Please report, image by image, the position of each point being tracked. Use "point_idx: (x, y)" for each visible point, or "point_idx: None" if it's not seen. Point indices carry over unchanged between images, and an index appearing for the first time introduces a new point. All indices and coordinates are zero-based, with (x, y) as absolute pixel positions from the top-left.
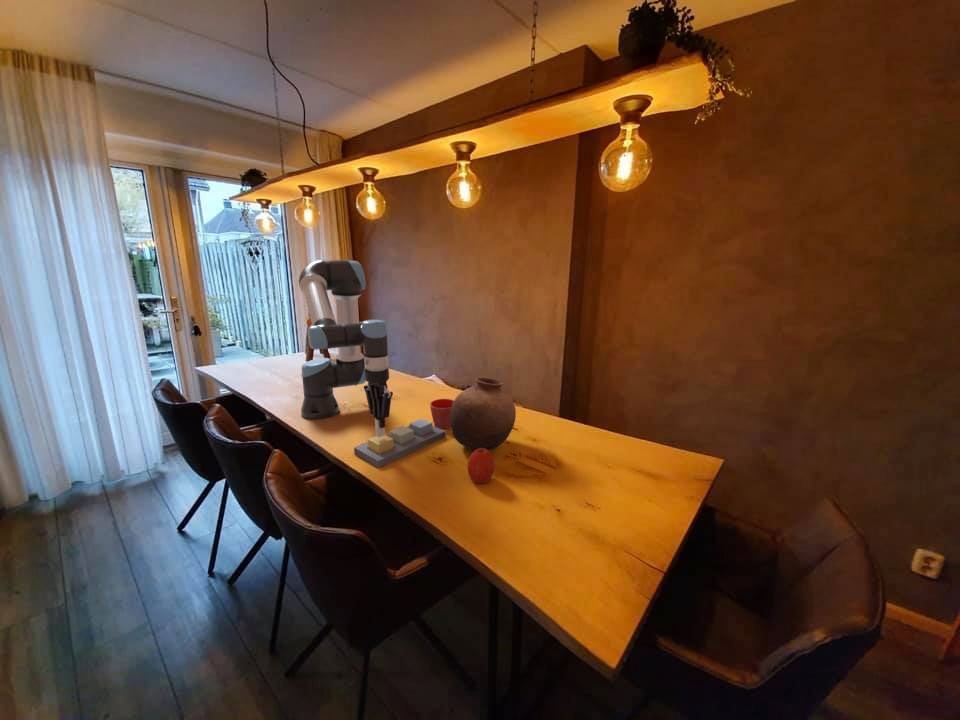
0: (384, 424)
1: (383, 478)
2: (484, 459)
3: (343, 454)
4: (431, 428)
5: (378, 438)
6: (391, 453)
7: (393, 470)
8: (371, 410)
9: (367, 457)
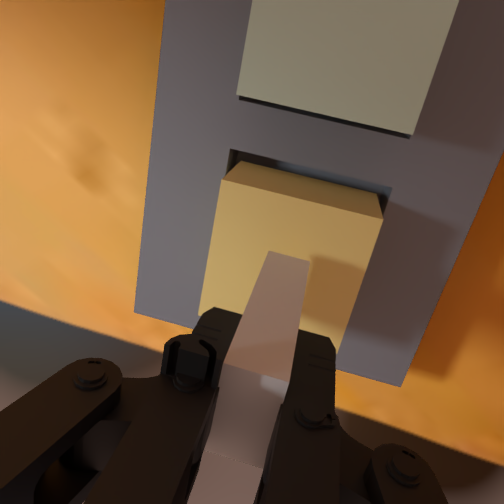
0: (334, 369)
1: (487, 424)
2: None
3: (108, 315)
4: None
5: (257, 269)
6: (423, 282)
7: (497, 347)
8: (80, 498)
9: None
